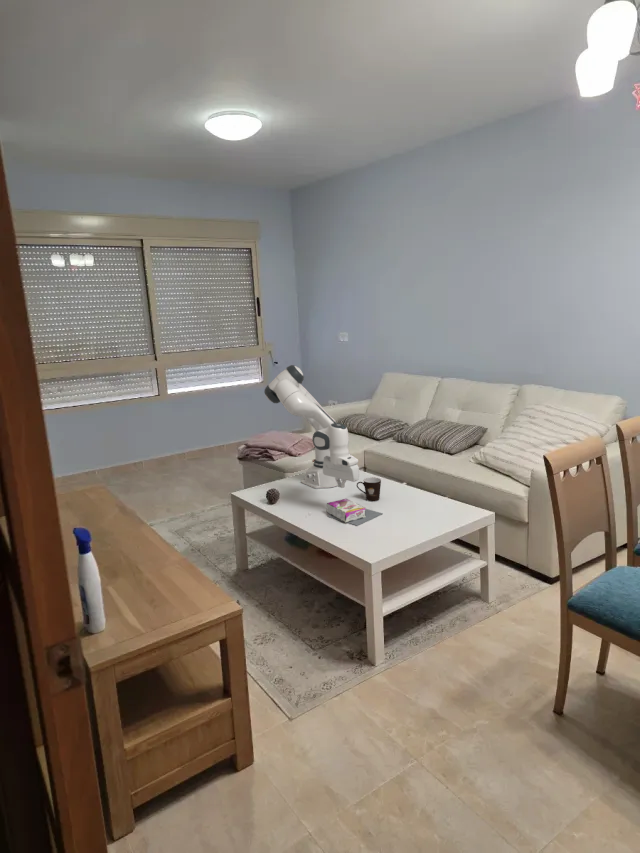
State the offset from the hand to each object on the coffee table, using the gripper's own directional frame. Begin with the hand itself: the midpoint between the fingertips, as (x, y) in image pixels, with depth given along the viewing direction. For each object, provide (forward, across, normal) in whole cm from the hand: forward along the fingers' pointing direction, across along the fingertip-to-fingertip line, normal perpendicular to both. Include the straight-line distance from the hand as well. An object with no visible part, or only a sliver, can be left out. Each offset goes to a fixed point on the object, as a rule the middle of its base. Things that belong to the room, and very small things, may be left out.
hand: (341, 487), depth 264 cm
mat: (+12, +8, 0) cm, 15 cm away
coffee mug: (+12, -1, +22) cm, 25 cm away
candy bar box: (+9, -3, -1) cm, 10 cm away
